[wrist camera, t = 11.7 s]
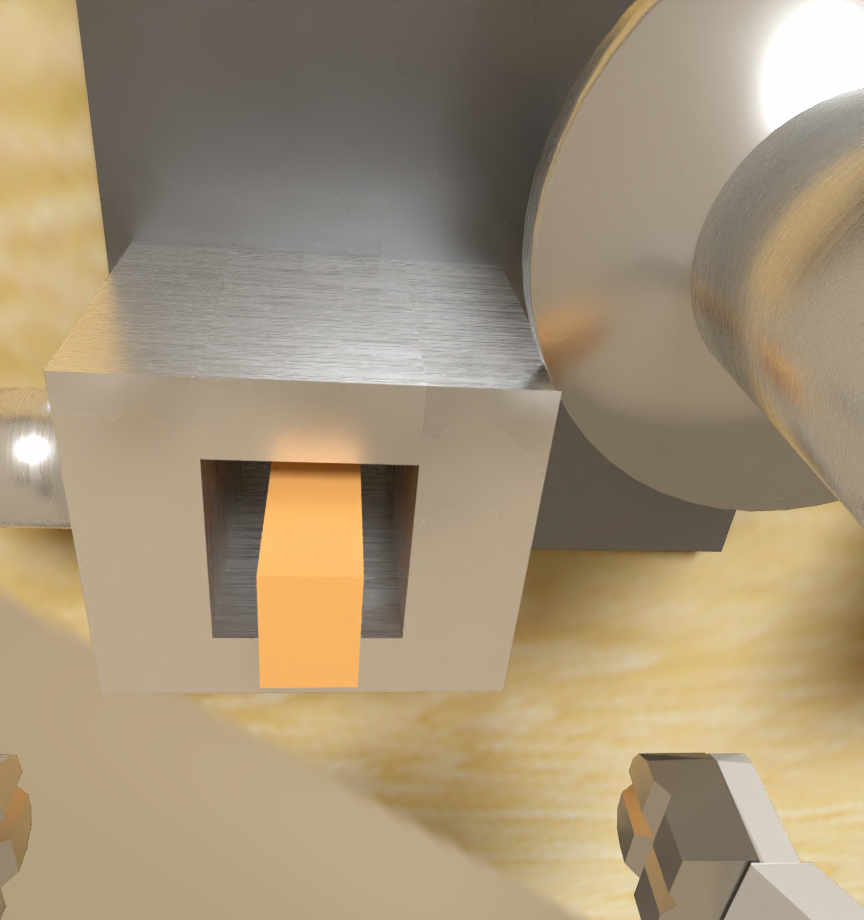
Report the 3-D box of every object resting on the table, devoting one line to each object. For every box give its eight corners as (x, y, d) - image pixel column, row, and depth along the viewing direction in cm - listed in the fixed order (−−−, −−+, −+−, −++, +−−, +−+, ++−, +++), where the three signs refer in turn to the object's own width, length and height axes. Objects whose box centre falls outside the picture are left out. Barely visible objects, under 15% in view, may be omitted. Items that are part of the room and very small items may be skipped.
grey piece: (975, -80, 16) (2552, -112, 5) (749, 531, 25) (1121, 1079, 13) (-86, -208, 14) (-2313, -938, 2) (53, 518, 22) (-276, 1182, 10)
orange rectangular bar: (356, 351, 19) (364, 576, 12) (352, 439, 20) (357, 686, 14) (287, 348, 19) (256, 575, 12) (287, 438, 20) (259, 687, 14)
